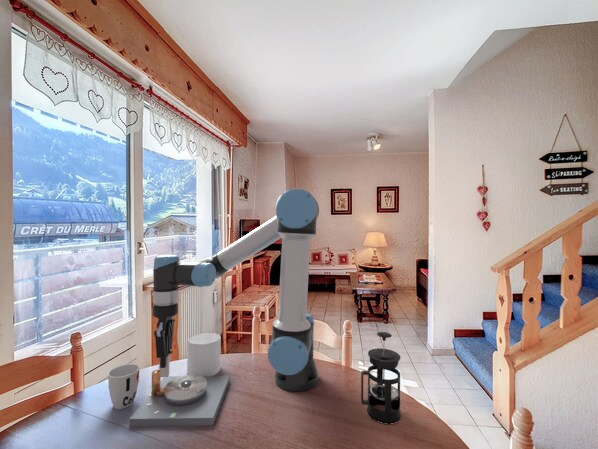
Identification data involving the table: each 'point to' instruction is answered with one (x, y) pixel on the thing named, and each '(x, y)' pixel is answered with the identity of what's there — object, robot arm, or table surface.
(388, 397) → the french press
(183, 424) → the board
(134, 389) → the cup
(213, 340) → the cup
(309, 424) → the table surface
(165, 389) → the dial
